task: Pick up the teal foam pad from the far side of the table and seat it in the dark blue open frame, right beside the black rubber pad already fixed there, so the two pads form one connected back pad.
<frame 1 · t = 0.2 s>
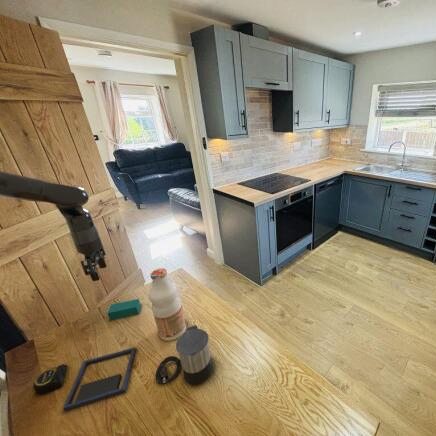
hand: (100, 273, 95), 18 cm above the table, tool pointing down, fingers open, 8 cm apart
tape measure: (55, 382, 74), on the table
dark blue open frame: (105, 378, 75), on the table
black pad: (100, 391, 71), resting on dark blue open frame
fruit juice: (173, 331, 91), on the table
teal pad: (126, 314, 99), on the table
milk frother: (186, 374, 77), on the table
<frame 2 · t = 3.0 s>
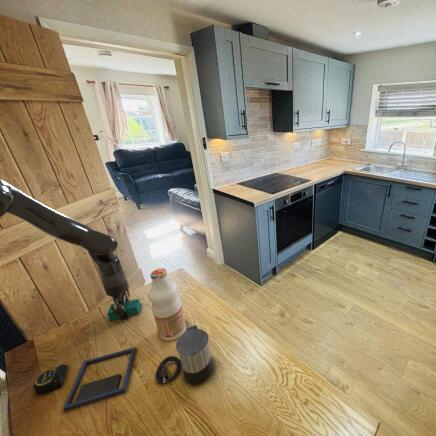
hand: (126, 313, 99), 0 cm above the table, tool pointing down, fingers closed on teal pad, 5 cm apart
teal pad: (126, 314, 99), on the table, touching gripper
everything else where it was.
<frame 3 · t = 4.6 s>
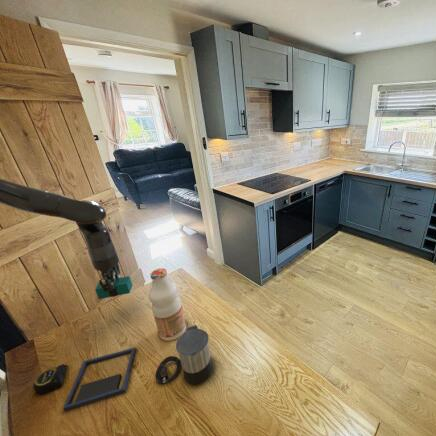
hand: (116, 291, 92), 13 cm above the table, tool pointing down, fingers closed on teal pad, 5 cm apart
teal pad: (116, 291, 93), point 13 cm above the table, touching gripper
everything else where it was.
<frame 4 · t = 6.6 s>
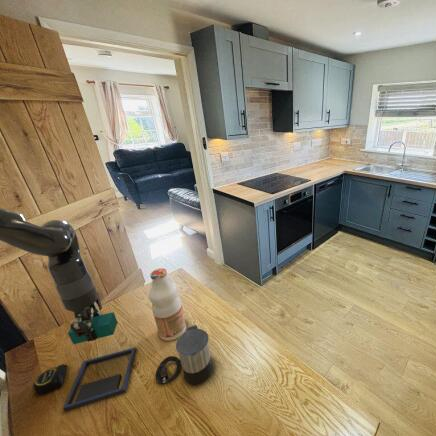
hand: (96, 332, 73), 15 cm above the table, tool pointing down, fingers closed on teal pad, 5 cm apart
teal pad: (96, 332, 74), point 14 cm above the table, touching gripper
everything else where it was.
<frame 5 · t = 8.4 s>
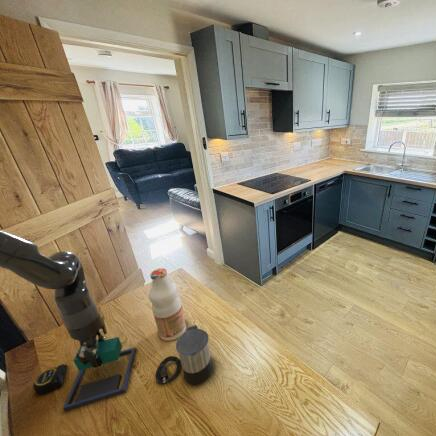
hand: (101, 357, 74), 7 cm above the table, tool pointing down, fingers closed on teal pad, 5 cm apart
teal pad: (101, 358, 74), point 6 cm above the table, touching gripper
everything else where it was.
when the fingers open (1 cm above the table, at t = 10.3 s): teal pad stays where it is, resting on dark blue open frame.
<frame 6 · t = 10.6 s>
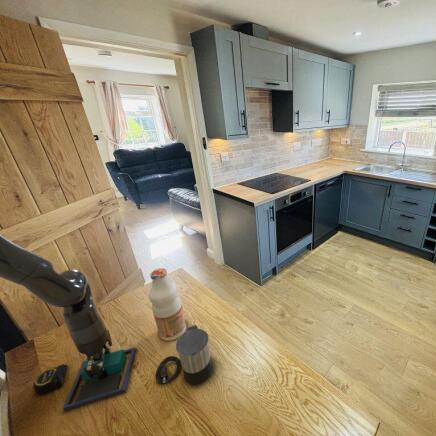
hand: (106, 369, 77), 1 cm above the table, tool pointing down, fingers open, 5 cm apart
teal pad: (107, 370, 77), point 1 cm above the table, touching dark blue open frame
everything else where it was.
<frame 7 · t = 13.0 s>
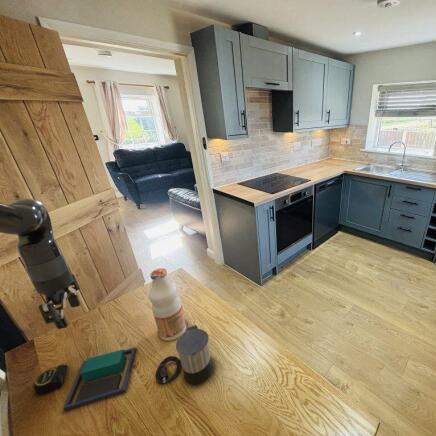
hand: (70, 316, 71), 21 cm above the table, tool pointing down, fingers open, 8 cm apart
nothing on the table moved.
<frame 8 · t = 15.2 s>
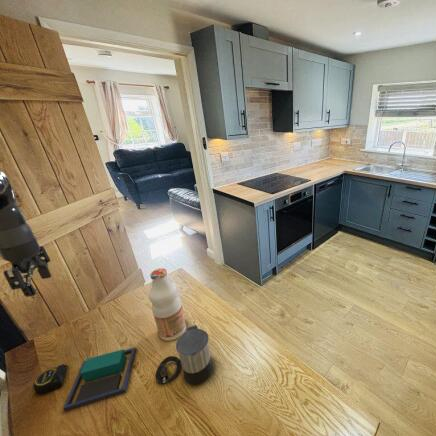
hand: (39, 286, 72), 28 cm above the table, tool pointing down, fingers open, 8 cm apart
nothing on the table moved.
at the end: teal pad 0.3 cm from the target spot in the dark blue open frame, point 0.6 cm above the dark blue open frame's base; teal pad tilted 0°; the gripper is holding nothing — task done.
